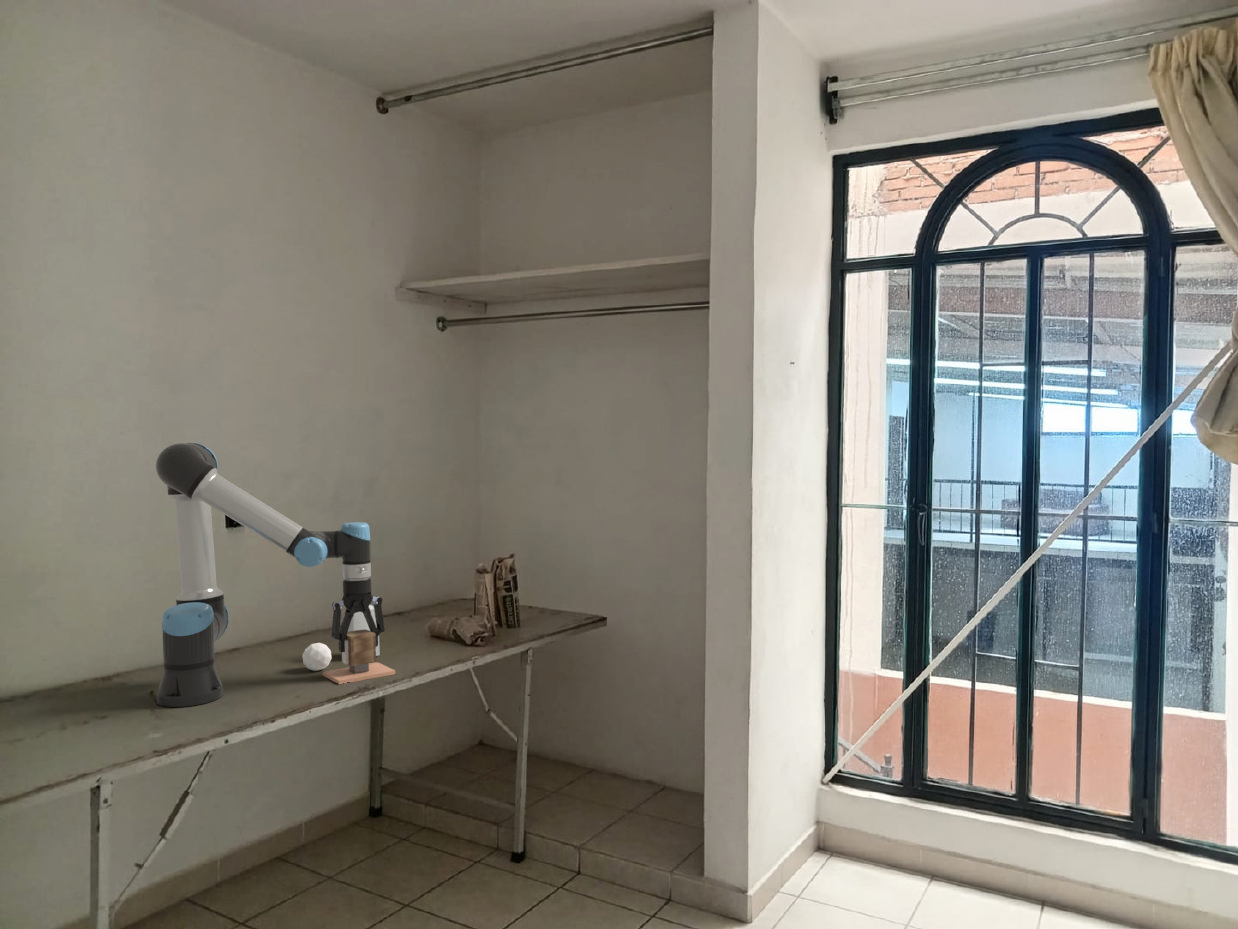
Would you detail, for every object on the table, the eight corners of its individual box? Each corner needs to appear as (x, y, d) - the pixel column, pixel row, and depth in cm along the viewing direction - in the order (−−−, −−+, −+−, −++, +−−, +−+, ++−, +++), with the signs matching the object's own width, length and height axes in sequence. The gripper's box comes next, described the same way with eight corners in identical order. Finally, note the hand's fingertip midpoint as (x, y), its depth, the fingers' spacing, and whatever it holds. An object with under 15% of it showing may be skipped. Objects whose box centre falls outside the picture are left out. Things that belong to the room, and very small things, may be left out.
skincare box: (372, 652, 276) (371, 604, 276) (380, 656, 271) (379, 607, 271) (345, 657, 271) (344, 607, 270) (353, 661, 266) (352, 610, 266)
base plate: (339, 684, 241) (338, 680, 241) (322, 675, 250) (322, 671, 250) (395, 674, 251) (395, 670, 251) (377, 665, 260) (377, 662, 260)
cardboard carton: (351, 666, 246) (350, 637, 245) (341, 661, 251) (341, 632, 251) (376, 662, 250) (375, 633, 250) (366, 657, 255) (365, 629, 255)
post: (354, 673, 248) (354, 650, 247) (349, 670, 251) (348, 647, 251) (368, 671, 250) (368, 648, 250) (363, 668, 253) (362, 645, 253)
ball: (310, 679, 257) (301, 654, 260) (338, 666, 259) (328, 642, 262) (305, 672, 250) (295, 646, 253) (333, 659, 253) (323, 634, 256)
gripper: (326, 584, 241) (328, 669, 241) (396, 576, 253) (398, 657, 254) (316, 580, 246) (318, 664, 247) (385, 573, 259) (387, 652, 260)
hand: (358, 660), depth 250 cm, fingers closed on cardboard carton, 7 cm apart
